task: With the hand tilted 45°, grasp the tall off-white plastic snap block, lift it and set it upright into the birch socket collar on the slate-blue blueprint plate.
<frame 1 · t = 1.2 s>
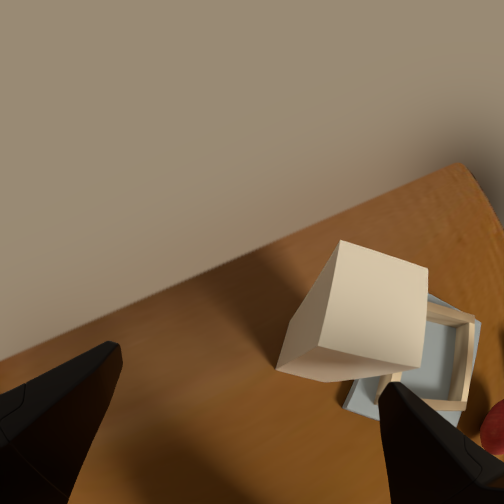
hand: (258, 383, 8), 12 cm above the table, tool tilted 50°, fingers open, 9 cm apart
socket collar: (419, 361, 19), resting on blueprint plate
onion: (480, 427, 15), on the table
snap block: (307, 351, 20), on the table
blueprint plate: (423, 363, 19), on the table
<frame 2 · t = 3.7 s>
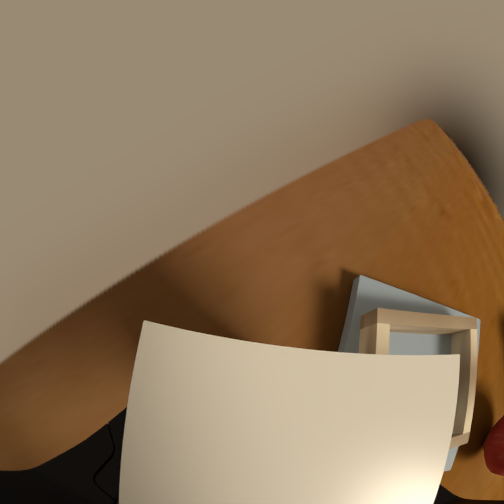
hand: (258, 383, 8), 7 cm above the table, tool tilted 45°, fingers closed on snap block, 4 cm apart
socket collar: (404, 388, 14), resting on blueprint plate
onion: (483, 440, 12), on the table
snap block: (239, 401, 13), on the table, touching gripper
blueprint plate: (410, 388, 14), on the table
when the fingers open (8 cm above the table, at t = 7.3 s): snap block stays where it is, resting on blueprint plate.
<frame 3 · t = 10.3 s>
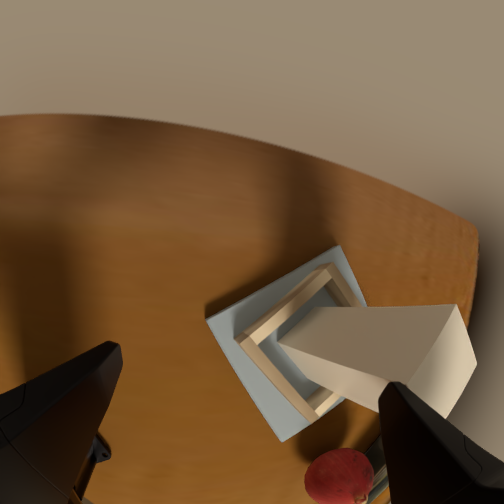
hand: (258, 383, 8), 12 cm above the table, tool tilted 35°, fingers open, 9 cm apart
socket collar: (305, 341, 21), resting on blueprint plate
onion: (318, 458, 20), on the table
mobile phone: (371, 448, 22), on the table
snap block: (311, 343, 20), point 1 cm above the table, touching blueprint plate, gripper
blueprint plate: (308, 346, 21), on the table
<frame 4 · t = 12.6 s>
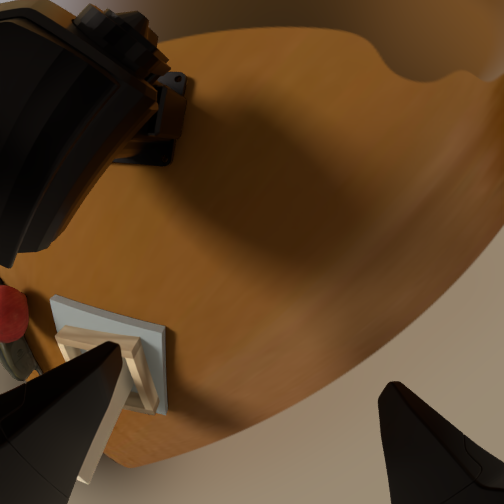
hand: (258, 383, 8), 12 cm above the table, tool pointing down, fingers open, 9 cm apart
socket collar: (115, 359, 23), resting on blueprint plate
onion: (26, 296, 22), on the table
mobile phone: (18, 325, 24), on the table
snap block: (111, 365, 23), point 1 cm above the table, touching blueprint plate
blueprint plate: (111, 358, 23), on the table
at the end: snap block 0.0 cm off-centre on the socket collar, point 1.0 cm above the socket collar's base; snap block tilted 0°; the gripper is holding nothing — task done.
